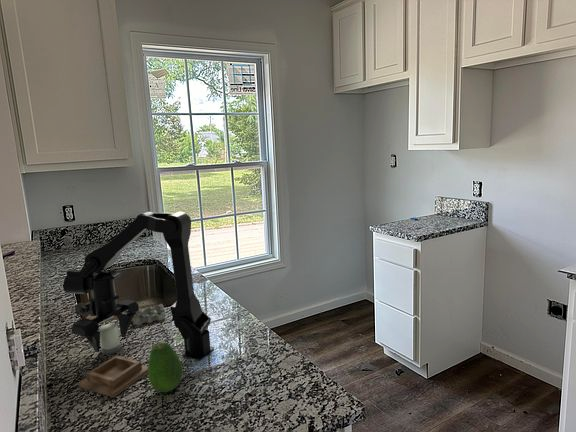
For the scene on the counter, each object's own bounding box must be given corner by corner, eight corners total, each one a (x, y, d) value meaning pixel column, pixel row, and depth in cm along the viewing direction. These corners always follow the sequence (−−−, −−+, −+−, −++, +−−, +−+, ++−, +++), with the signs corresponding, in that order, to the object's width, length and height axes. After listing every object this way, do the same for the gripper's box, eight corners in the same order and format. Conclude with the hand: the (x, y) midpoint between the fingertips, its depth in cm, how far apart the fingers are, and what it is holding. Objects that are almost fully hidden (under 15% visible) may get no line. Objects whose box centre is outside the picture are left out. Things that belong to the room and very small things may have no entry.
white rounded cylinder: (124, 347, 115) (122, 325, 114) (110, 356, 111) (107, 333, 109) (112, 344, 117) (109, 322, 116) (97, 352, 113) (94, 330, 112)
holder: (151, 370, 102) (149, 360, 102) (113, 397, 92) (112, 386, 91) (117, 361, 108) (116, 351, 107) (78, 386, 97) (76, 375, 96)
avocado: (144, 390, 94) (139, 344, 92) (174, 376, 99) (169, 332, 97) (160, 405, 88) (154, 356, 86) (191, 389, 94) (186, 342, 92)
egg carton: (132, 327, 129) (130, 315, 128) (132, 318, 136) (130, 307, 135) (166, 320, 133) (165, 309, 132) (164, 312, 140) (163, 301, 139)
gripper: (110, 279, 123) (116, 326, 125) (54, 301, 106) (62, 355, 109) (137, 283, 118) (142, 332, 121) (82, 307, 101) (90, 362, 104)
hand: (110, 344), depth 114 cm, fingers open, 9 cm apart
